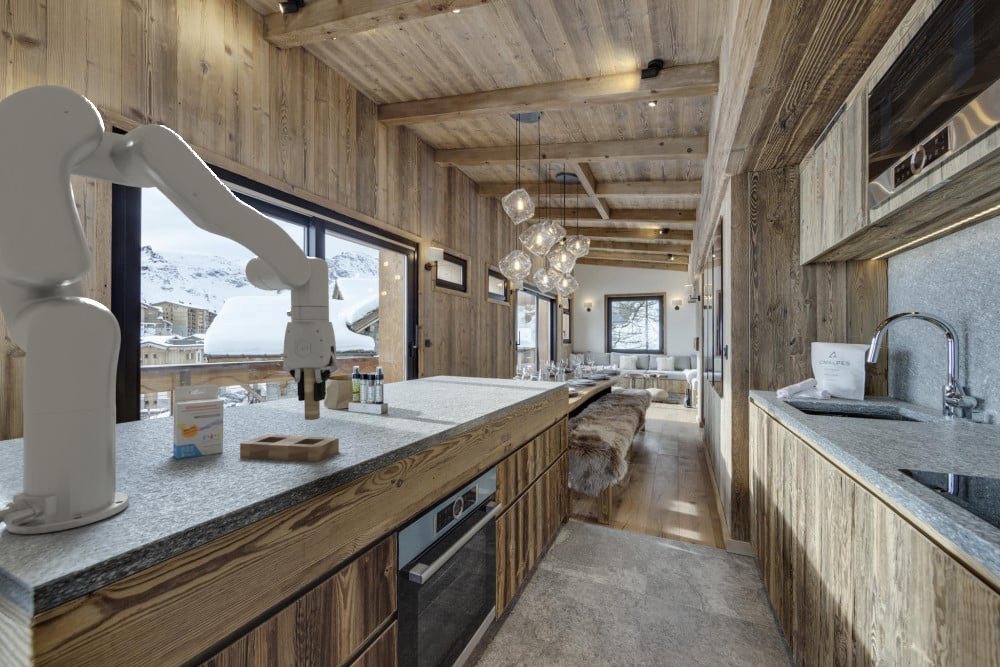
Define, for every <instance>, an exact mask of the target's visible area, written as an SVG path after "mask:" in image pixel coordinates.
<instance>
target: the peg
mask: <svg viewBox="0 0 1000 667" xmlns="http://www.w3.org/2000/svg"><path fill="white" fill-rule="evenodd" d="M314 383H316V375H315V368H304V420H306V421H313V420H318V419H320V418H321V412H320V410H321V409H320V401H314Z"/></svg>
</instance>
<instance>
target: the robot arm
mask: <svg viewBox="0 0 1000 667" xmlns="http://www.w3.org/2000/svg"><path fill="white" fill-rule="evenodd" d="M72 175H73V176H78V177H81V178H87V179H93V180H98V181H102V182H107V183H112V184H117V185H123V186H126V187H134V188H143V189H144V188H146V189H150V188H156V189H157V190H158V191H159V192H160V193H161V194H163V196H165V197H166V198H167V199H168V200H169V202H171V203H172V204H173V205H174V206H175V207H177V209H178V210H180V212H181V213H182V214H183V215H185V217H186V218H187V219H189V220H190V221H191V223H192V224H193V225H194V226H196V228H199V229H201V230H203V231H206V232H207V233H210V234H213V235H216V236H220V237H224V238H226V239H229V240H231V241H234V242H236V243H238V244H239V245H241V246H242V247H244V248H246V249H247V250H249V251H250V252H252V253H253V254H254V255H255V256H253V257H252V258H251V259H250V260H249V261H248V262H247V264H246V266H245V276H246V279H247V281H248V282H249V283H250V284H251V285H252V286H253V287H255V288H257V289H260V290H263V291H267V292H268V291H281V290H282V291H283V290H287V291H288V290H289V291H290V310H287V312H286V315H287V317H289V318H290V321H288V322H287V324H286V328H285V333H284V341H283V359H282V360H283V365H282V370H283V371H284V372H286V373H287V374H290V376H291V377H292V378H293V379H294V382H295V383H297V385H296V386H297V396H298V397H297V398H298V399H297V401H298V402H303V401H304V368H315V375H316V383H314V401H324V400H325V399H326V395H327V392H326V391H327V386H326V384H327V383H326V382H327V381H329V378H331V376H332V375H333V374H335V373H337V372H339V371H340V370H341V368H342V367H341V366H340V363H339V361H338V360H337V345H336V343H337V342H336V336H335V331H334V325H333V323H332V321H330V301H329V300H330V299H329V297H330V294H329V290H330V289H329V288H330V287H329V265H328V262H327V261H326V260H325V259H324V258H320V257H315V256H311V257H310V256H307V255H306V253H305V252H304V250H303V249H302V248H301V247H300V246H299V245H298V244H297V242H296V241H295V240H294V239H293V238H292V236H291V235H290V234H289V233H288V232H286V231H285V229H283V227H281V225H280V224H279V225H278V224H277V223H276V222H275V221H273V220H272V219H271V218H269V217H268V216H266V215H265V214H263V213H261V212H260V211H258V210H257V209H255V208H254V207H252V206H251V205H248V204H247V203H245V202H244V201H242V200H240V199H239V198H238V197H237V196H236V195H235V194H234V193H233V192H232V191H231V190H230V189H229V188H228V187H227V186H226V185H225V184H224V182H222V181H221V179H219V177H218V176H217V175H216V174H215V173H214V172H213V170H212V169H211V168H209V166H208V165H207V164H206V163H205V162H204V161H203V160H202V159H201V157H199V155H197V153H196V152H195V151H194V150H193V149H192V148H191V146H189V145H188V144H187V143H186V141H184V139H183V138H182V137H181V136H180V135H179V134H177V133H176V132H175V131H174V130H172V129H171V128H169V127H166V126H165V125H161V124H157V123H156V124H155V123H154V124H153V123H149V124H144V125H141V126H138V127H136V128H134V129H132V130H130V131H129V132H126V133H125V134H119V133H116V132H112V131H107V130H105V126H104V122H103V119H102V117H101V114H100V112H99V111H98V110H97V107H95V105H94V104H93V103H92V102H91V100H89V99H88V98H87V97H85V96H84V95H83V94H82V93H79V92H78V91H75V90H73V89H71V88H68V87H66V86H65V87H64V86H61V85H54V84H53V85H52V84H51V85H50V84H45V85H42V84H41V85H35V86H30V87H25V88H24V89H21V90H18V91H16V92H14V93H12V94H9V95H8V96H5V97H4V98H3V99H1V101H0V309H1V312H2V316H3V319H4V321H5V324H6V326H7V329H8V332H9V334H10V336H11V339H12V340H13V342H14V343H15V344H16V346H17V347H18V348H19V349H20V350H22V351H23V352H25V359H24V360H25V362H24V363H25V364H24V373H23V382H22V384H23V385H22V412H23V427H22V428H23V430H22V431H23V432H22V433H23V439H22V440H23V444H22V445H23V449H22V450H23V452H22V453H23V455H22V456H23V459H22V460H23V463H22V464H23V465H22V469H23V470H22V471H23V473H22V474H23V475H22V477H23V479H22V480H23V482H22V484H23V488H22V489H23V490H22V492H20V493H17V494H13V495H12V502H8V503H7V504H6V505H5V507H2V508H0V524H1V523H4V524H5V528H6V531H8V532H9V533H13V534H17V535H36V534H45V533H53V532H59V531H65V530H69V529H74V528H77V527H82V526H85V525H90V524H93V523H96V522H98V521H99V522H100V521H101V520H105V519H107V518H110V517H112V516H115V515H116V514H118V513H120V512H122V511H123V510H125V509H126V508H127V507H128V506H129V504H130V496H129V494H126V493H124V492H120V491H119V492H118V491H117V490H116V487H117V485H116V484H117V483H116V482H117V476H116V475H117V471H116V470H117V469H116V468H117V461H116V460H117V406H116V405H117V404H116V397H117V396H116V394H117V393H116V391H117V389H116V388H117V387H116V385H117V371H118V370H117V369H118V362H119V355H120V351H121V340H122V338H121V337H122V335H121V334H122V333H121V328H120V325H119V322H118V321H119V320H118V319H117V318H116V316H115V314H113V312H112V311H111V310H110V309H109V308H108V307H106V306H105V305H103V304H102V303H100V302H98V301H96V300H93V299H90V298H88V297H87V296H86V294H85V290H84V285H83V283H82V280H83V279H84V278H85V277H86V276H88V274H89V272H90V271H91V269H92V266H93V256H92V252H91V249H90V246H89V243H88V240H87V237H86V234H85V231H84V228H83V225H82V221H81V218H80V216H79V211H78V207H77V205H76V202H75V201H76V200H75V196H74V191H73V190H74V189H73V185H72V177H71V176H72Z"/></svg>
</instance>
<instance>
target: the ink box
mask: <svg viewBox="0 0 1000 667" xmlns="http://www.w3.org/2000/svg"><path fill="white" fill-rule="evenodd" d="M196 390H198V391H201V392H200V393H191V392H196ZM202 391H204V392H203V393H202ZM172 447H173V451H172V454H173V456H174V457H175V459H176V460H181V459H189V458H196V457H201V456H202V457H203V456H207V455H209V456H210V455H215V454H216V455H217V454H221V453H224V400H223V399H222V398H220V397H219V385H218V384H216V383H215V384H204V385H202V384H201V385H187V386H176V387H175V388H174V401H173V446H172Z"/></svg>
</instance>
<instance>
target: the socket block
mask: <svg viewBox="0 0 1000 667" xmlns="http://www.w3.org/2000/svg"><path fill="white" fill-rule="evenodd" d="M339 441H340V438H339V437H326V436H325V437H323V436H303V435H302V436H300V435H285V434H284V435H282V434H281V435H279V434H264V435H261V436H258V437H255V438H252V439H249V440H246V441H243V442H241V443H240V444H239V448H240V449H239V457H240V459H243V458H244V459H258V460H260V459H262V460H275V461H276V460H277V461H293V462H294V461H296V462H314V463H316V462H317V463H319V462H321V461H322V460H325V459H326V458H328V457H331V456H333V455H334V454H336V453H338V452H339V450H340V449H339V448H340V446H339V444H340V442H339Z"/></svg>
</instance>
